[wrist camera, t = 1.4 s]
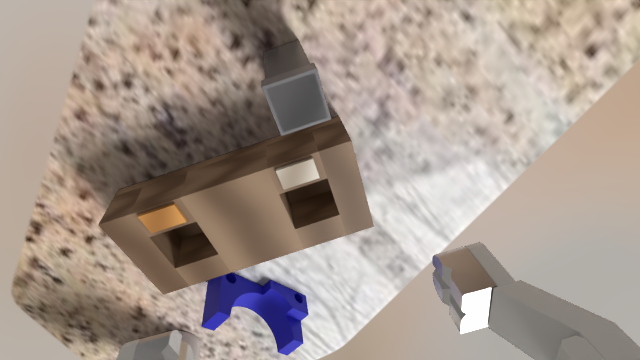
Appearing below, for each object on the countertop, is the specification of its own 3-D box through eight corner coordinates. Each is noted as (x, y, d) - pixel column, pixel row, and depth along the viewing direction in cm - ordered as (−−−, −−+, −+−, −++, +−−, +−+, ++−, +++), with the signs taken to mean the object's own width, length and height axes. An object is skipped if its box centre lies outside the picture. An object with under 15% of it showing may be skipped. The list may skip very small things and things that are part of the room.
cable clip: (305, 295, 46) (311, 336, 41) (283, 313, 47) (287, 355, 42) (229, 259, 40) (226, 303, 35) (207, 281, 41) (201, 326, 36)
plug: (300, 36, 27) (316, 68, 20) (312, 76, 29) (331, 119, 22) (259, 50, 27) (261, 87, 20) (274, 89, 29) (281, 136, 22)
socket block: (338, 115, 32) (352, 142, 27) (360, 196, 37) (374, 228, 33) (118, 189, 32) (96, 227, 28) (173, 257, 38) (162, 297, 34)
